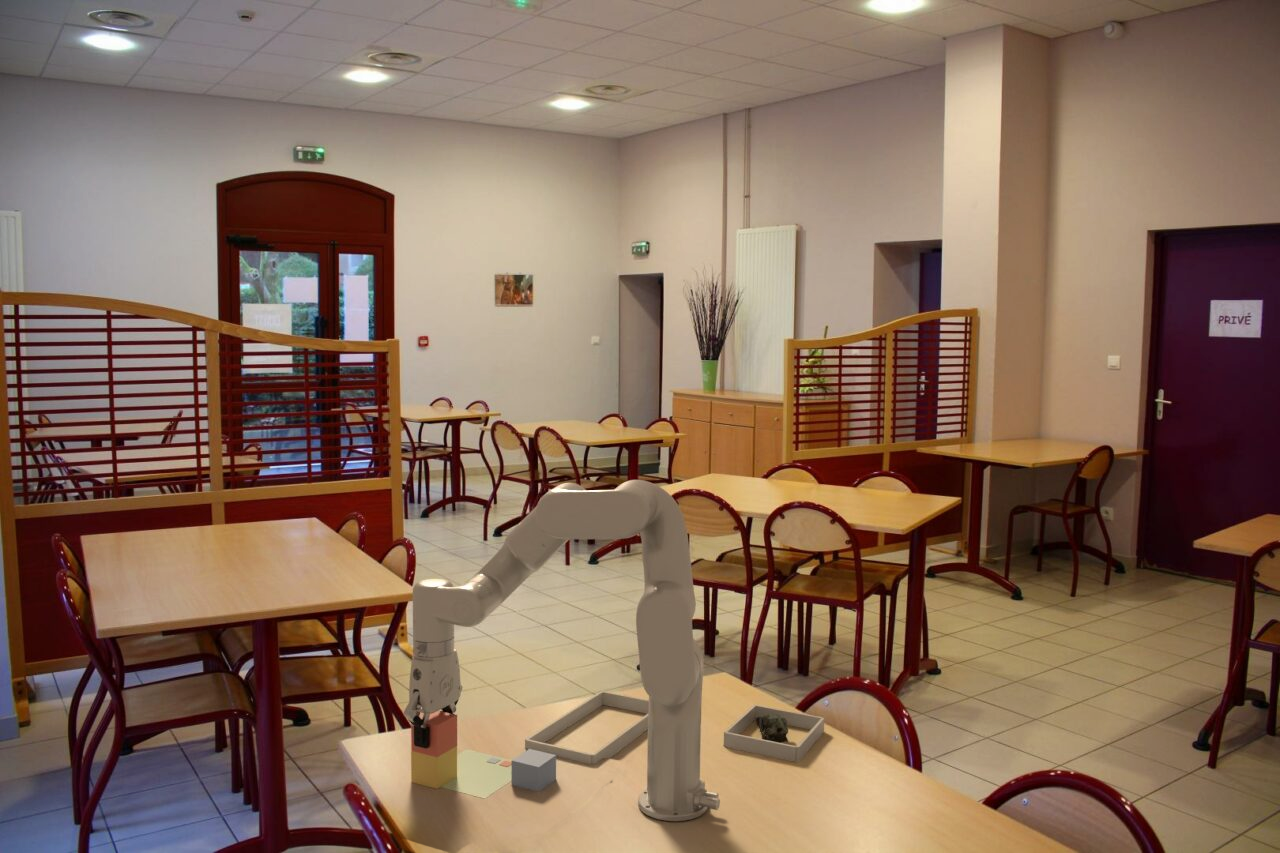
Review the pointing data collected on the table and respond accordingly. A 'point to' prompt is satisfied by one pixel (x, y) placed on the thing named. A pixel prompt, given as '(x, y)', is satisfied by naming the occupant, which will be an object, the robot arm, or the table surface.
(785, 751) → the shell frame
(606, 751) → the beige open rectangular frame
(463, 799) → the table surface
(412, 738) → the red block
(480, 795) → the building board
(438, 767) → the ochre block
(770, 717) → the dark grey lumpy lump
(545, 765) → the slate block
